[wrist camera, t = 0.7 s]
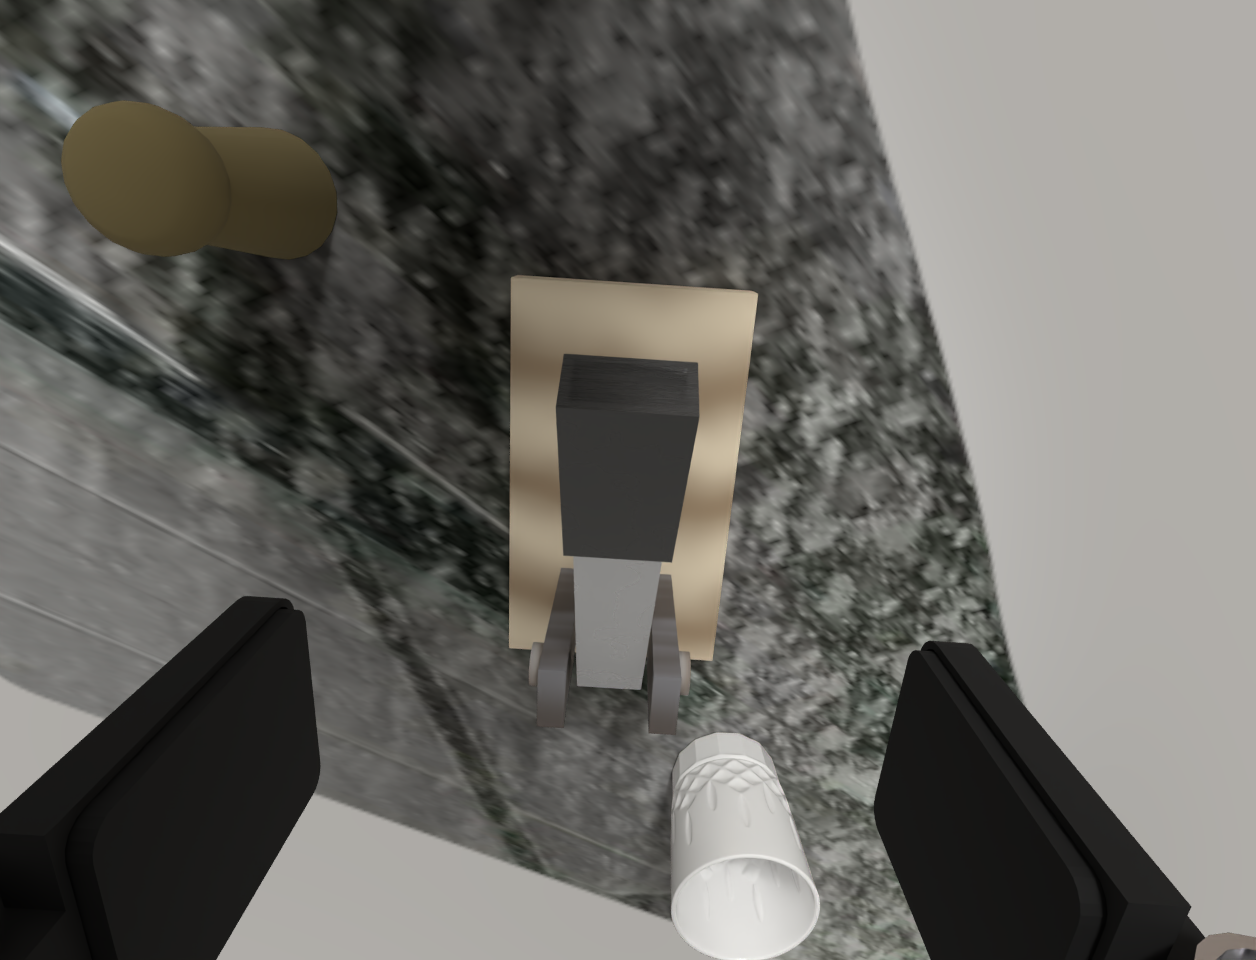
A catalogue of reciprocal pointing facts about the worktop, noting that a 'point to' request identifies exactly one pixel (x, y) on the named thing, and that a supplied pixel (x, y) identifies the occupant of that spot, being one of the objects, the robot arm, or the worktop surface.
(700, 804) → the white cup
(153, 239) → the cork
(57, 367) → the worktop surface
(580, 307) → the nutcracker base
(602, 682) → the lever
